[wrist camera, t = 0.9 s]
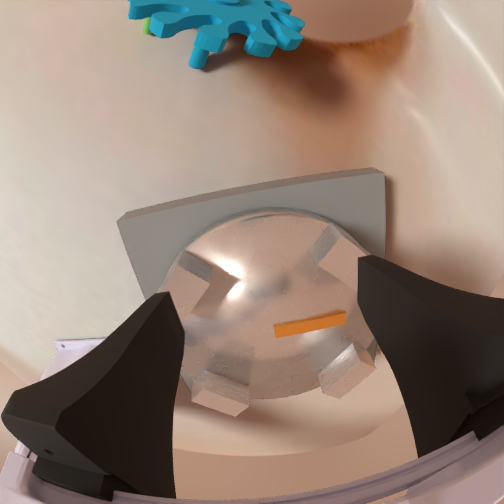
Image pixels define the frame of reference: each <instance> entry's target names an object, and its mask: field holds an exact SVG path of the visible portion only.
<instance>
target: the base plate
mask: <svg viewBox="0 0 504 504" xmlns="http://www.w3.org/2000/svg"><path fill="white" fill-rule="evenodd" d="M266 207H287V208H294V209H300V210H305V211H308V212H312V213H315V214H318V215H320V216H322V217H325V218H327V219H329V220H331V221H333V222H334V223H336V224H337V225H339V226H340V227H342V228H343V229H344V230H346V231H347V232H348V233H349V234H350V235H351V236H352V237H353V238H354V239H355V240H356V241H357V242H358V243H359V244H360V245H361V246H362V247H363V248H364V249H365V250H367V251H368V252H369V253H370V254H372V255H375V256H378V257H380V258H383V259H385V237H386V206H385V177H384V172H382V171H379V170H377V169H374V168H363V169H354V170H346V171H338V172H330V173H323V174H316V175H309V176H302V177H296V178H289V179H283V180H277V181H271V182H265V183H259V184H254V185H248V186H243V187H237V188H232V189H227V190H222V191H217V192H212V193H207V194H202V195H198V196H193V197H188V198H184V199H179V200H175V201H171V202H166V203H162V204H158V205H154V206H150V207H146V208H142V209H138V210H134V211H130V212H126V213H125V214H124V215H123V216H122V217H121V218H120V219H119V220H117V221H116V222H117V225H118V228H119V231H120V234H121V237H122V240H123V243H124V245H125V248H126V251H127V254H128V257H129V259H130V262H131V265H132V267H133V270H134V272H135V275H136V278H137V280H138V283H139V285H140V288H141V290H142V292H143V295H144V297H145V300H147V299H148V298H150V297H151V296H152V295H153V294H155V293H157V292H158V290H159V288H160V287H161V285H162V283H163V282H164V280H165V278H166V275H167V273H168V271H169V269H170V267H171V265H172V263H173V261H174V259H175V258H176V256H177V255H178V253H179V252H180V251H181V249H182V248H183V247H184V246H185V245H186V244H187V243H188V242H189V241H190V240H191V239H192V238H193V237H194V236H195V235H196V234H198V233H199V232H200V231H202V230H203V229H204V228H206V227H207V226H209V225H211V224H213V223H215V222H216V221H218V220H220V219H222V218H225V217H227V216H230V215H233V214H235V213H239V212H243V211H247V210H251V209H257V208H266ZM376 347H377V341H376V340H375V338H374V339H373V340H372V342H371V344H370V345H369V347H368V348H367V351H368V352H369V354H370V356H371V358H372V360H373V362H374V360H375V354H376ZM180 374H181V376H182V378H183V380H184V382H185V384H186V385H187V387H188V389H189V391H190V393H191V394H192V387H193V381H194V379H192V378H191V377H190V376H188V375H187V374H186V373H184V372H183V371H182V370H181V371H180Z"/></svg>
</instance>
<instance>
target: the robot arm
mask: <svg viewBox="0 0 504 504" xmlns="http://www.w3.org/2000/svg"><path fill="white" fill-rule="evenodd" d="M357 302H358V305H359V307H360V310H361V313H362V315H363V317H364V320H365V322H366V324H367V326H368V327H369V329H370V331H371V333H372V334H373V336H374V338H375V340H376V341H377V343H378V345H379V346H380V348H381V350H382V352H383V354H384V355H385V357H386V359H387V361H388V362H389V364H390V366H391V369H392V371H393V373H394V375H395V378H396V380H397V383H398V386H399V388H400V391H401V394H402V397H403V400H404V403H405V406H406V409H407V412H408V415H409V419H410V423H411V427H412V431H413V435H414V439H415V444H416V448H417V454H418V459H415V460H413V461H411V462H408V463H406V464H403V465H401V466H398V467H395V468H393V469H390V470H387V471H384V472H381V473H378V474H375V475H372V476H369V477H366V478H362V479H359V480H356V481H352V482H349V483H345V484H341V485H337V486H332V487H328V488H323V489H319V490H314V491H308V492H303V493H297V494H291V495H283V496H275V497H266V498H256V499H241V500H187V499H176V492H175V483H174V474H173V455H172V454H173V453H172V432H173V411H174V403H175V397H176V391H177V386H178V381H179V376H180V371H181V366H182V361H183V356H184V344H185V331H184V328H183V326H182V323H181V321H180V318H179V315H178V313H177V310H176V308H175V305H174V303H173V300H172V297H171V295H170V292H169V291H167V292H160V293H155V294H153V295H152V296H151V297H150V298H148V299H147V300H146V301H145V302H144V303H143V304H142V305H141V306H140V307H139V308H138V309H137V310H136V311H135V312H134V313H133V314H132V315H131V316H130V317H129V318H128V319H127V320H126V321H125V322H124V323H123V324H121V325H120V326H119V327H118V328H117V329H116V330H115V331H114V332H113V333H112V334H110V335H109V336H108V337H107V338H100V339H84V340H62V341H55V342H54V346H55V348H56V350H57V351H56V353H55V354H54V356H53V358H52V359H51V361H50V363H49V365H48V366H47V368H46V370H45V372H44V373H43V375H42V377H41V379H40V381H39V382H37V383H35V384H32V385H30V386H27V387H25V388H22V389H20V390H16V391H14V392H13V394H12V396H11V397H10V399H9V401H8V403H7V405H6V406H5V408H4V410H3V412H2V414H1V418H2V421H3V423H4V425H5V426H6V428H7V429H8V430H9V431H10V432H11V433H12V434H13V435H14V436H15V437H16V438H17V439H18V440H19V441H18V444H17V446H16V449H15V451H14V452H12V451H9V453H8V456H7V459H6V461H5V464H4V467H3V469H2V472H1V475H0V504H366V503H369V502H372V501H375V500H378V499H381V498H384V497H387V496H389V495H392V494H395V493H398V492H400V491H403V490H405V489H408V488H409V489H408V491H407V494H406V495H405V496H404V497H400V498H397V499H394V500H391V501H388V502H385V503H381V504H496V503H497V502H499V501H500V500H501V499H502V498H504V299H501V298H494V297H488V296H482V295H478V294H473V293H469V292H465V291H461V290H458V289H455V288H452V287H448V286H445V285H442V284H440V283H437V282H434V281H432V280H429V279H427V278H425V277H422V276H420V275H418V274H415V273H413V272H411V271H409V270H406V269H404V268H402V267H400V266H398V265H396V264H394V263H392V262H389V261H387V260H385V259H383V258H380V257H378V256H375V255H367V256H362V257H358V287H357ZM410 487H411V488H410Z"/></svg>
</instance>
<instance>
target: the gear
mask: <svg viewBox="0 0 504 504" xmlns="http://www.w3.org/2000/svg"><path fill="white" fill-rule="evenodd" d="M128 1H130V8H129V14H128V17H129V19H134V20H136V19H144V18H145V23H144V29H143V33H144V34H152V33H153V34H155V35H156V36H158V37H159V38H169V37H172V36H174V35H175V34H176V33H178V32H180V31H183V30H186V29H192V28H196V29H198V33H197V36H196V39H195V42H194V48H193V51H192V55H191V58H190V61H189V66H190V67H192V68H194V69H202V68H203V67H204V65H205V62H206V60H207V57H208V54H209V52H210V51H211V52H214V53H219V52H221V51H222V50H223V48H224V46H225V43H226V41H227V39H228V37H229V34H231V33H241V34H244V35H246V36H247V37H248V39H247V41H246V43H245V45H244V50H245V51H246V52H247V53H248V54H251V55H255V56H261V57H270V55H271V54H272V52H273V50H274V49H275V47H276V45H277V46H278V47H279V48H281V49H283V50H287V51H288V50H294V49H297V47H298V46H299V44H300V43H301V41H302V40H303V36H302V35H300V34H299V33H300V31H301V30H302V28H303V27H304V25H305V22H304V21H302V20H301V19H299V18H297V17H294V16H291V15H289V14H290V12H291V10H292V8H291V7H290V5H289V4H288V3H286V2H283V1H280V0H128ZM268 33H269V34H271V35H272V36H273V37H272V36H270V35H269V34H268Z"/></svg>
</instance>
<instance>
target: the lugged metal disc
mask: <svg viewBox="0 0 504 504" xmlns="http://www.w3.org/2000/svg"><path fill="white" fill-rule="evenodd" d="M367 255H372V254H370V253H369V252H368V251H367V250H365V249H364V248H363V247H362V246H361V245H360V244H359V243H358V242H357V241H356V240H355V239H354V238H353V237H352V236H351V235H350V234H349V233H348V232H347V231H346V230H344V229H343V228H342V227H340V226H339V225H337V224H336V223H334V222H333V221H331V220H329V219H327V218H325V217H322V216H320V215H318V214H315V213H312V212H308V211H305V210H300V209H294V208H287V207H266V208H257V209H251V210H247V211H243V212H239V213H235V214H233V215H230V216H227V217H225V218H222V219H220V220H218V221H216V222H215V223H213V224H211V225H209V226H207V227H206V228H204V229H203V230H202V231H200V232H199V233H198V234H196V235H195V236H194V237H193V238H192V239H191V240H190V241H189V242H188V243H187V244H186V245H185V246H184V247H183V248H182V249H181V251H180V252H179V253H178V255H177V256H176V258H175V259H174V261H173V263H172V265H171V267H170V269H169V271H168V273H167V275H166V278H165V280H164V282H163V283H162V285H161V287H160V288H159V290H158V292H157V293H160V292H167V291H169V292H170V295H171V297H172V300H173V303H174V305H175V308H176V310H177V313H178V315H179V318H180V321H181V323H182V326H183V328H184V331H185V344H184V356H183V361H182V366H181V370H182V371H183V372H184V373H186V374H187V375H188V376H190V377H191V378H192V379H194V381H193V387H192V395H191V401H192V402H195V403H197V404H200V405H203V406H205V407H208V408H211V409H214V410H217V411H219V412H222V413H225V414H228V415H231V416H234V417H236V416H237V415H238V414H240V413H241V412H242V411H244V410H245V409H246V408H247V407H249V399H274V398H282V397H288V396H293V395H297V394H301V393H304V392H307V391H310V390H312V389H315V388H317V387H320V386H321V389H322V392H323V393H324V394H327V395H330V396H333V397H336V398H339V399H340V398H341V397H343V396H344V395H345V394H346V393H348V392H349V391H350V390H351V389H353V388H354V387H355V386H356V385H358V384H359V383H360V382H361V381H362V380H364V379H365V378H366V377H367V376H368V375H370V374H371V373H372V372H373V371H374V370H375V369H376V367H375V364H374V362H373V360H372V358H371V356H370V354H369V352H368V351H367V348H368V347H369V345H370V344H371V342H372V340H373V339H374V336H373V334H372V333H371V331H370V329H369V327H368V326H367V324H366V322H365V320H364V317H363V315H362V313H361V310H360V307H359V305H358V302H357V287H358V257H362V256H367Z"/></svg>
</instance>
